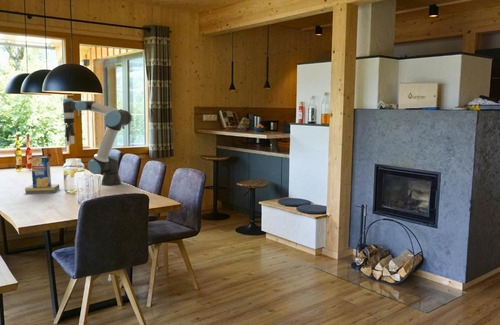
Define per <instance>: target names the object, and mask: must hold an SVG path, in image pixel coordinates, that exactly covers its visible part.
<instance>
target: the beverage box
mask: <svg viewBox="0 0 500 325" xmlns="http://www.w3.org/2000/svg"><path fill="white" fill-rule="evenodd" d="M50 158H51V157H50V156H33V157H30V162H31V163H30V164H31V176H32V177H31V179H32V185H33V187H49V186H51V185H52V179H51V178H52V177H51V176H52V175H51V174H52V173H51V161H50V160H51V159H50Z"/></svg>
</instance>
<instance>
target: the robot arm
mask: <svg viewBox="0 0 500 325" xmlns="http://www.w3.org/2000/svg"><path fill="white" fill-rule="evenodd" d="M62 110H63V113H62V116H63V118H64V119H63V123H64V124H65V134H64V138H65V139H66V140H65V141H66V146H71V145H74V144H76V143H75V142H76V141H75V136H76V134H75V130H74V123H75V111H76V112H77V111H78V112H80V111H91V112H93V113H97V114H99V115H102V116H104V123H105V127H106V129H105V131H104V133H103V137H102V140H101V142H100V145H99V148H98V150H97V153H96V154H94V156H93V158H92V159H89V161H88V162H87V167H88V168H87V169H88V171H89V172H90V173H91V174H93V175H100V174H103V175H102V179H101V185H102V186H117V185H118V186H119V185H120V184H122V181H121V177H120V175H119V158H118V156H116V155H115V156H114V155H110V153H111V150H112V148H113V145H114V142H115V139H116V138H117V134H118V133H119V132H120V131H121V130H122V127H123V126H127V125H129V124H130V123H131V122H132V120H133V118H132V114H131V112H129V111H128V110H125V109H117V108H114V107H111V106H108V105H105V104H101V103H97V102H96V101H95V100H74V99H73V98H63V100H62Z"/></svg>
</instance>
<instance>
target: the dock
mask: <svg viewBox="0 0 500 325" xmlns="http://www.w3.org/2000/svg"><path fill="white" fill-rule="evenodd" d="M24 188H25V189H24V190H25V194H30V195H31V194H55V193H56V192H58V191H60V184H55V183H54V184H51V186H49V187H33V184H31V185H28V186H27V187H24Z"/></svg>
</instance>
